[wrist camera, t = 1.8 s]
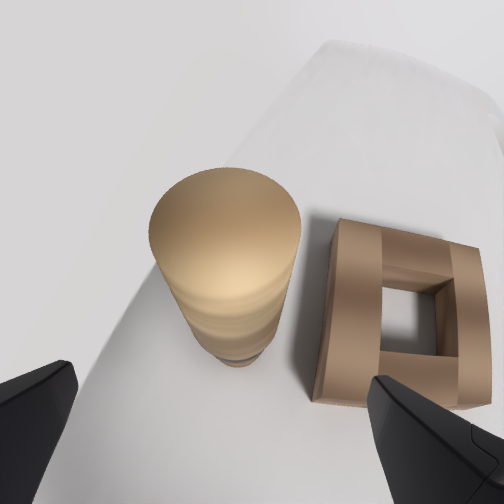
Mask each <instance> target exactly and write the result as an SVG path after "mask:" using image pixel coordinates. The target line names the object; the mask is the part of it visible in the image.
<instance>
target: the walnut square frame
mask: <svg viewBox="0 0 504 504" xmlns="http://www.w3.org/2000/svg"><path fill="white" fill-rule="evenodd" d="M382 287H387V288H393V289H399V290H405V291H411V292H417V293H424V294H430V295H435V310H436V356H431V355H419V354H409V353H399V352H389V351H380V339H381V316H382ZM377 375H388V376H390V377H391V378H393V379H395V380H396V381H398V382H400V383H402V384H403V385H405V386H407V387H408V388H410V389H412V390H414V391H415V392H417V393H419V394H421V395H422V396H424V397H426V398H427V399H429V400H431V401H433V402H435V403H436V404H438V405H440V406H442V407H443V408H445V409H447V410H467V409H471V408H475V407H479V406H483V405H487V404H491V398H492V357H491V337H490V323H489V313H488V303H487V295H486V288H485V281H484V274H483V268H482V263H481V257H480V252H479V248H475V247H470V246H466V245H462V244H458V243H454V242H450V241H445V240H441V239H437V238H432V237H428V236H423V235H419V234H414V233H410V232H405V231H400V230H396V229H391V228H386V227H381V226H376V225H371V224H366V223H361V222H356V221H351V220H346V219H341V218H339V221H338V224H337V226H336V229H335V232H334V234H333V237H332V240H331V243H330V256H329V268H328V278H327V289H326V298H325V308H324V316H323V325H322V333H321V341H320V348H319V356H318V363H317V370H316V377H315V383H314V389H313V396H312V402H315V403H323V404H332V405H341V406H352V407H364V408H367V395H368V391H369V388H370V384H371V380H372V378H373V377H374V376H377Z"/></svg>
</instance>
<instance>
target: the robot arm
mask: <svg viewBox="0 0 504 504" xmlns="http://www.w3.org/2000/svg"><path fill="white" fill-rule="evenodd" d="M77 391H78V381H77V377H76V374H75V371H74V367H73V365H72V363H71V362H69V361H64V360H58V361H55V362H53V363H51V364H48V365H46V366H43V367H41V368H38V369H36V370H33V371H31V372H28V373H26V374H23V375H21V376H18V377H16V378H14V379H11V380H8V381H6V382H3V383H1V384H0V504H32V502H33V500H34V497H35V494H36V492H37V489H38V487H39V485H40V482H41V480H42V477H43V475H44V473H45V470H46V468H47V466H48V463H49V461H50V459H51V456H52V454H53V452H54V450H55V447H56V445H57V443H58V441H59V439H60V437H61V434H62V432H63V430H64V428H65V425H66V422H67V420H68V417H69V414H70V411H71V408H72V405H73V402H74V400H75V397H76V394H77ZM367 408H368V413H369V417H370V422H371V427H372V432H373V437H374V441H375V445H376V449H377V452H378V455H379V458H380V461H381V464H382V467H383V470H384V473H385V476H386V479H387V482H388V486H389V489H390V492H391V495H392V498H393V501H394V504H504V439H502V438H500V437H497V436H495V435H493V434H491V433H489V432H487V431H485V430H483V429H481V428H479V427H478V426H476V425H474V424H471V423H470V422H468V421H467V420H465V419H463V418H461V417H459V416H458V415H456V414H454V413H452V412H450V411H449V410H447V409H445V408H443V407H442V406H440V405H438V404H436V403H435V402H433V401H431V400H429V399H427V398H426V397H424V396H422V395H421V394H419V393H417V392H415V391H414V390H412V389H410V388H408V387H407V386H405V385H403V384H402V383H400V382H398V381H396V380H395V379H393V378H391V377H390V376H388V375H377V376H374V377H373V378H372V380H371V384H370V388H369V391H368V395H367Z"/></svg>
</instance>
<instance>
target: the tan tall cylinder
mask: <svg viewBox="0 0 504 504" xmlns="http://www.w3.org/2000/svg"><path fill="white" fill-rule="evenodd" d="M300 237H301V219H300V214H299V211H298V208H297V206H296V204H295V202H294V200H293V199H292V197H291V196H290V195H289V193H288V192H287V191H286V190H285V189H284V188H283V187H282V186H281V185H279V184H278V183H277V182H275V181H274V180H272V179H270V178H269V177H267V176H265V175H262V174H260V173H257V172H254V171H251V170H246V169H241V168H215V169H210V170H205V171H202V172H198V173H196V174H194V175H191V176H189V177H187V178H185V179H183V180H182V181H180V182H178V183H177V184H175V185H174V186H173V187H172V188H170V189H169V190H168V191H167V192H166V193H165V194H164V195H163V197H162V198H161V199H160V200H159V202H158V203H157V205H156V207H155V209H154V211H153V213H152V216H151V219H150V223H149V242H150V247H151V250H152V252H153V255H154V257H155V259H156V262H157V264H158V266H159V268H160V270H161V272H162V274H163V276H164V278H165V280H166V282H167V284H168V286H169V288H170V290H171V292H172V294H173V296H174V298H175V300H176V302H177V304H178V306H179V308H180V310H181V311H182V313H183V315H184V317H185V319H186V321H187V323H188V325H189V327H190V328H191V330H192V332H193V334H194V336H195V338H196V339H197V341H198V342H199V344H200V345H201V346H202V347H203V348H204V349H205V350H206V351H208V352H209V353H211V354H212V355H213V356H215V357H216V358H217V359H219V360H220V361H221V362H223V363H224V364H226V365H228V366H231V367H244V366H247V365H249V364H251V363H253V362H254V361H255V360H256V359H257V358H258V356H259V355H260V354H261V353H262V352H263V351H264V349H265V348H266V347H267V346H268V345H269V344H270V342H271V341H272V339H273V338H274V336H275V333H276V331H277V327H278V324H279V320H280V316H281V312H282V309H283V305H284V301H285V297H286V293H287V289H288V285H289V282H290V278H291V274H292V270H293V266H294V262H295V258H296V253H297V249H298V245H299V241H300Z"/></svg>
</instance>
